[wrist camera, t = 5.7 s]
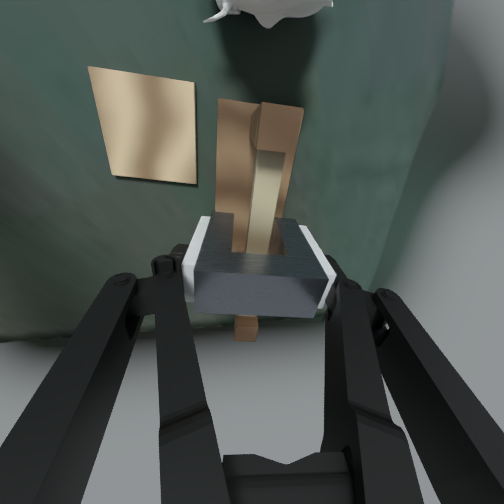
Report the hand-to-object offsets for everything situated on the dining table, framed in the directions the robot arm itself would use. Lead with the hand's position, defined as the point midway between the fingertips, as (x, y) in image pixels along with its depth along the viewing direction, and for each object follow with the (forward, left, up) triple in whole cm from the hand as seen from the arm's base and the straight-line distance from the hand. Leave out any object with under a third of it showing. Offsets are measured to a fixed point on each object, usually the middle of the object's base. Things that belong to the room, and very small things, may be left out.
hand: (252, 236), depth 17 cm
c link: (0, 0, -1) cm, 1 cm away
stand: (0, 0, -12) cm, 12 cm away
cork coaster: (-12, +6, -12) cm, 18 cm away
